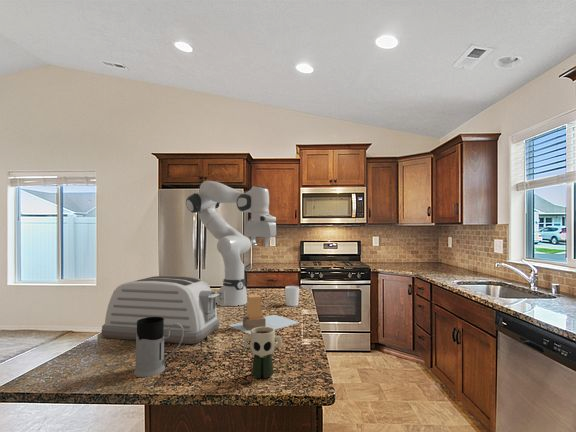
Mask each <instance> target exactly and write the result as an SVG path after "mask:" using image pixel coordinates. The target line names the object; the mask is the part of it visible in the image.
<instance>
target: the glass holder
mask: <svg viewBox="0 0 576 432" xmlns="http://www.w3.org/2000/svg"><path fill="white" fill-rule="evenodd" d="M173 325H179V326H180V327H181V329H182V338H181V341H180V343H178V345H177V346H176V348H175V349H174V350H173V351H172V352H171V353H170V354H167V356H166V357H164V356H165V342H164V339H166V338H168V337H169V335H170V329H171V327H172V326H173ZM173 325H171V326H170V328H169V331H168V337H164V318H162V317H147V318H143V319H140V320H138V321H137V330H136V340H135V367H134V368H135V369H134V370H133V375H134V376H135V377H140V378H149V377H153V376H156V375H160V374H161V373H163V372H165V370H166V366H165V362H166V360H167V359H168V358H169V357H170V356H172V355H173V354H174V353H175V352H176V351H177V350H178V349H179V347H180V346H181V344H182V343H181V342H182V339H183V332H184V331H183V327H182V326H181V325H180V324H176V323H175V324H173Z"/></svg>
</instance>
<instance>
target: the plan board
mask: <svg viewBox="0 0 576 432" xmlns="http://www.w3.org/2000/svg"><path fill="white" fill-rule="evenodd" d="M263 317H264V318H265V319H266V327H271V328H274V330H275V331H276V330H278V329H282V328H286V327H289V326H292V325H294V326H295V325H296V324H299V323H301V322H300V321H297V320H294V319H290V318H288V317H287V318H286V317H283V316H280V315H277V314H271V315H268V316H263ZM228 326H229V327H231V328H233V329H236V330H239V331H241V332H243V333H246V334H248V335H249V336H251V330H246V329H245V327H244V326H243V321H242V322H238V323H233V324H228Z"/></svg>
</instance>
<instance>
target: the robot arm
mask: <svg viewBox="0 0 576 432" xmlns="http://www.w3.org/2000/svg"><path fill="white" fill-rule="evenodd" d="M220 204H236V207H237V209H238V210H239V211H240V212H243V213H251V218H249V220H247V222H246V223H247V224H246V226H245V227H246V228H245V235H243V234H242V233H241V232H240V231H239V230H237V229H235V228H234V227H232V226H231V225H230V223H228V222H227V221H226V219H224V218H223V217H222V216H221V215H220V213H218V212H217V210H216V209H218V208H219V207H220ZM185 205H186V208H187V210H188V211H190V213H192V214H193V213H194V214H195V213H199V214H198V217H199V219H200V221H201V223H202V225H203V226H204V227H205V229H207V231H209V233H210V234H211V235H212V236H213V237H214V238H215V239H216V240H217V243H216V249H217V251H218V253H220V255H221V257H222V260H223V263H224V279H223V278H222V282H223V283H222V286H221V287H220V288H219V289H218V290H217V291H216V292H215V293H216V294H219V295H218V296H216V303H217V304H216V305H218V306H219V305H220V306H219V307H236V306H237V307H239V306H245V305H247V304H246V303H247V295H248V293H247V287H246V286H245V285H246V278H245V264H244V263H243V262H242V259H241V256H240V255H241V254H245V253H246V252H249V251H250V249H251V247H257V246H258V245H257V244H258V242H256V241H257V240H256V238H264V239H265V242H264V243H263V247H264V248H268V247H269V246H270V245H269V243H270V241H271V238H276V236H277V224H276V222H277V218H276V216H273V215H271V214H270V209H269V206H270V193H269V188H268V187H266V186H260V185H252V187H251V189H249V190H248V191H245V192H242V191H239V190H236V189H235V188H233V187H230V186H228V185H226V184H224V183H221V182H219V181H215V180H205V181H203V182H202V183H201V184H200V185H199V191H198V192H194V193H193V194H191V195H189V196H188V197H187V198H186V200H185ZM238 305H239V306H238Z"/></svg>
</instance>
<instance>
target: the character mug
mask: <svg viewBox="0 0 576 432" xmlns="http://www.w3.org/2000/svg"><path fill="white" fill-rule="evenodd" d="M248 340H250V344H249V343H248ZM276 340H277V343H276ZM243 346H244V348H247V349H249V348H250V351H251V353H252V354H253V362H252V368H251V375H252V376H253V377H254V378H256V379H257V378H258V379H261V376H262V375H263V379H267V378H270V377H271V376H273V374H274V372H275V371H274V363H273V356H272V355H271V354H273V353H274V352H275V350H276V348H281V347H282V337H281V335H276V329H275V330H274V328H271V327H256V328H253V329H252V330H251V335H246V336H244V338H243Z"/></svg>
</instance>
